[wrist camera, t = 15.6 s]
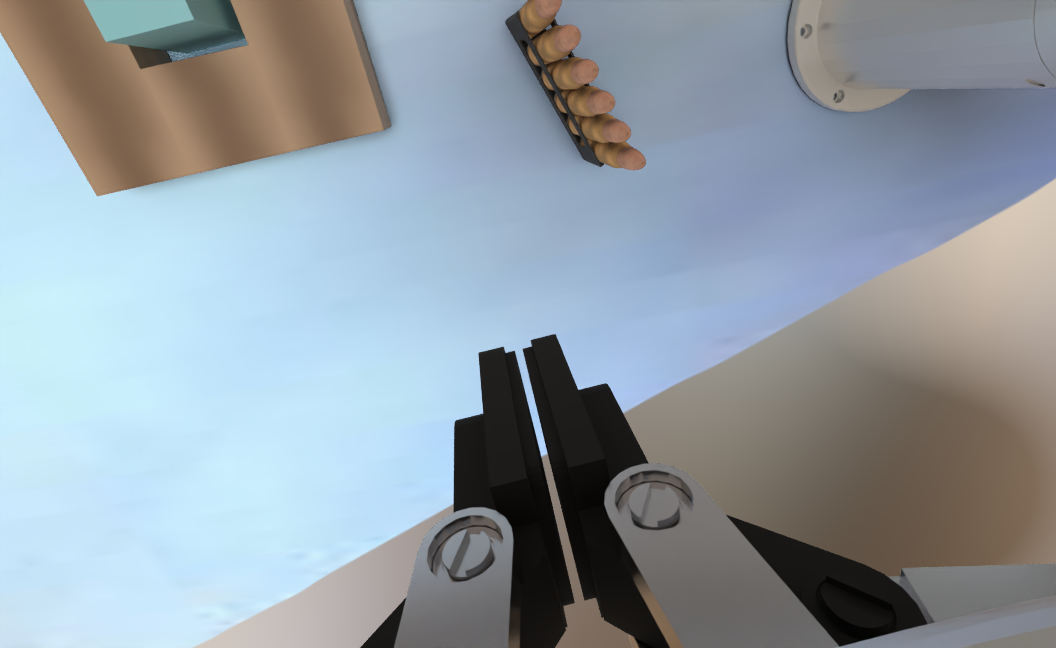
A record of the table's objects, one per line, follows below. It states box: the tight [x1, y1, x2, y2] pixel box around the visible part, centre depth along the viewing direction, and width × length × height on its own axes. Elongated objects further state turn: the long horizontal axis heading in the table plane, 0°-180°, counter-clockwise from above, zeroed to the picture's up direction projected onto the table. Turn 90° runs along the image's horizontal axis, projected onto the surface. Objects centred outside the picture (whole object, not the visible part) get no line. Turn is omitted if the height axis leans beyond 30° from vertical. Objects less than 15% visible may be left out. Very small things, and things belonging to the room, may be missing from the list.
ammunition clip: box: [505, 0, 646, 170], centre depth 29 cm, size 11×2×12 cm, turn 33°
